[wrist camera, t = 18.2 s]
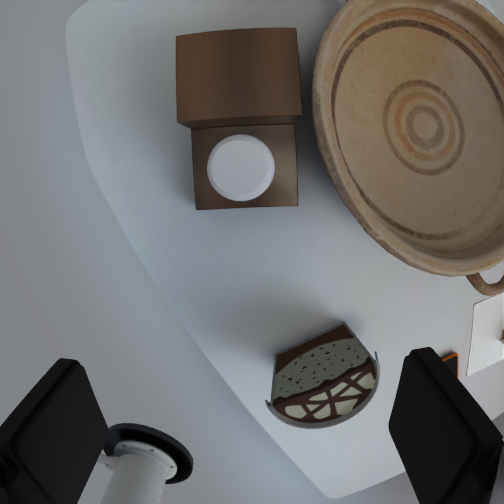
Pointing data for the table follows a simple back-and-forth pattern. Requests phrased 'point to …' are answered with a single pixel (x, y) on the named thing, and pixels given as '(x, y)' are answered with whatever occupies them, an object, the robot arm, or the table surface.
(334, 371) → the food container
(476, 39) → the ceramic bowl
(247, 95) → the step shelf
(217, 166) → the pill bottle
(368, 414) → the table surface
